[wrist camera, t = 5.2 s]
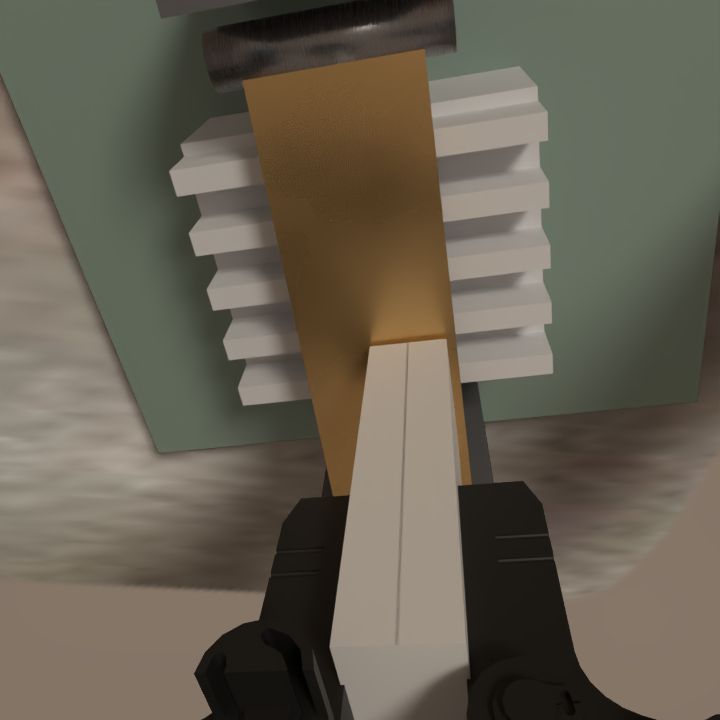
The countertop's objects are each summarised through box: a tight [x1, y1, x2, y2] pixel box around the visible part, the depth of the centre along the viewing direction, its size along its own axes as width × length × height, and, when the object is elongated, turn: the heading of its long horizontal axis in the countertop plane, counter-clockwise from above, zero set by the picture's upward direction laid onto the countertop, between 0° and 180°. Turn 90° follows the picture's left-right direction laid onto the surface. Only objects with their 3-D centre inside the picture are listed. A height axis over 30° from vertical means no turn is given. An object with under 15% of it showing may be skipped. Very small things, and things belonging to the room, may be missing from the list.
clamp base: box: [0, 0, 720, 497], centre depth 14 cm, size 16×14×7 cm
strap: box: [202, 0, 472, 496], centre depth 13 cm, size 4×10×1 cm, turn 9°
